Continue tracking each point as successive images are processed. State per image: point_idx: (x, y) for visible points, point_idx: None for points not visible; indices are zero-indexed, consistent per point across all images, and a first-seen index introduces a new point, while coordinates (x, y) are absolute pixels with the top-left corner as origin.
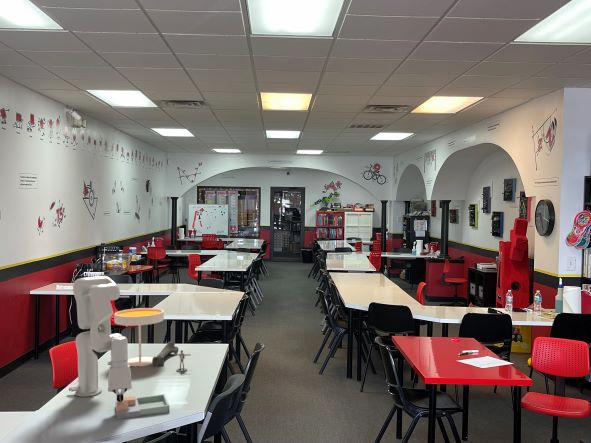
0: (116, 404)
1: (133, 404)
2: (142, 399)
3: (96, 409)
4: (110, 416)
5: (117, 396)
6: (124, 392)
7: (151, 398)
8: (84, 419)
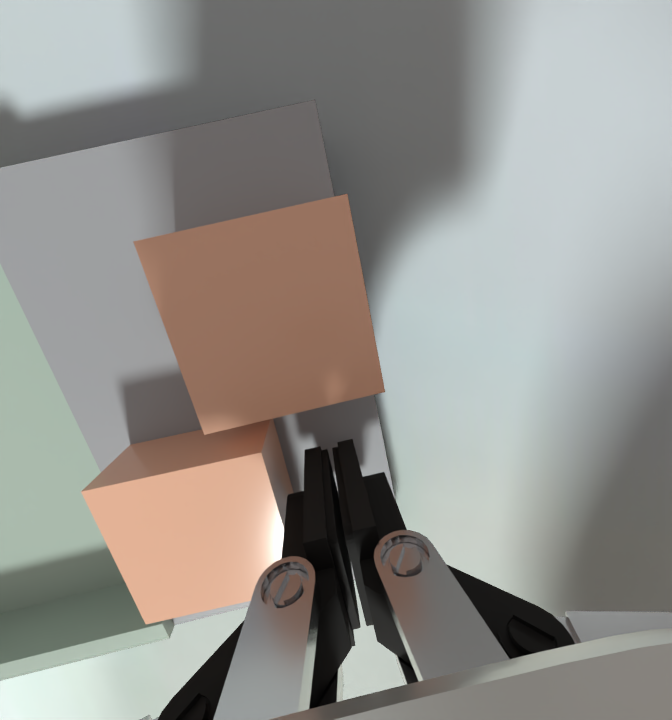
0: (362, 281)
1: (153, 440)
2: (115, 615)
3: (556, 478)
4: (406, 260)
5: (391, 526)
6: (250, 620)
7: (16, 637)
8: (668, 220)
